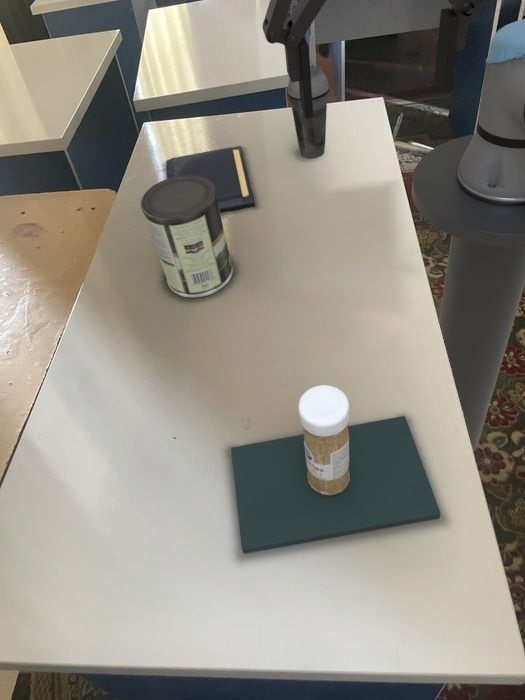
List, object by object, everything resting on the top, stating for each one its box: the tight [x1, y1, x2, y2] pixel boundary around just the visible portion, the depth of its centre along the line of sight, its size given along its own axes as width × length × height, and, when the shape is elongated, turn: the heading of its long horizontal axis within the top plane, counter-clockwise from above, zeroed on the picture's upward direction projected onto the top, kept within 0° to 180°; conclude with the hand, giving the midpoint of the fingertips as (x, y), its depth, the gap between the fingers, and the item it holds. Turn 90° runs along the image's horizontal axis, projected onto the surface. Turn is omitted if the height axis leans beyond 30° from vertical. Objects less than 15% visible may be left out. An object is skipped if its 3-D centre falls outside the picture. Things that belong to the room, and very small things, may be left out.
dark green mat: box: [230, 415, 442, 554], centre depth 61 cm, size 20×12×1 cm, turn 98°
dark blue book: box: [165, 145, 255, 213], centre depth 102 cm, size 20×2×15 cm
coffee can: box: [140, 175, 234, 299], centre depth 81 cm, size 10×10×14 cm
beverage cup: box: [286, 34, 330, 160], centre depth 98 cm, size 7×7×20 cm
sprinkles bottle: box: [297, 384, 351, 495], centre depth 55 cm, size 5×5×13 cm
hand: (374, 98), depth 56 cm, fingers open, 13 cm apart
